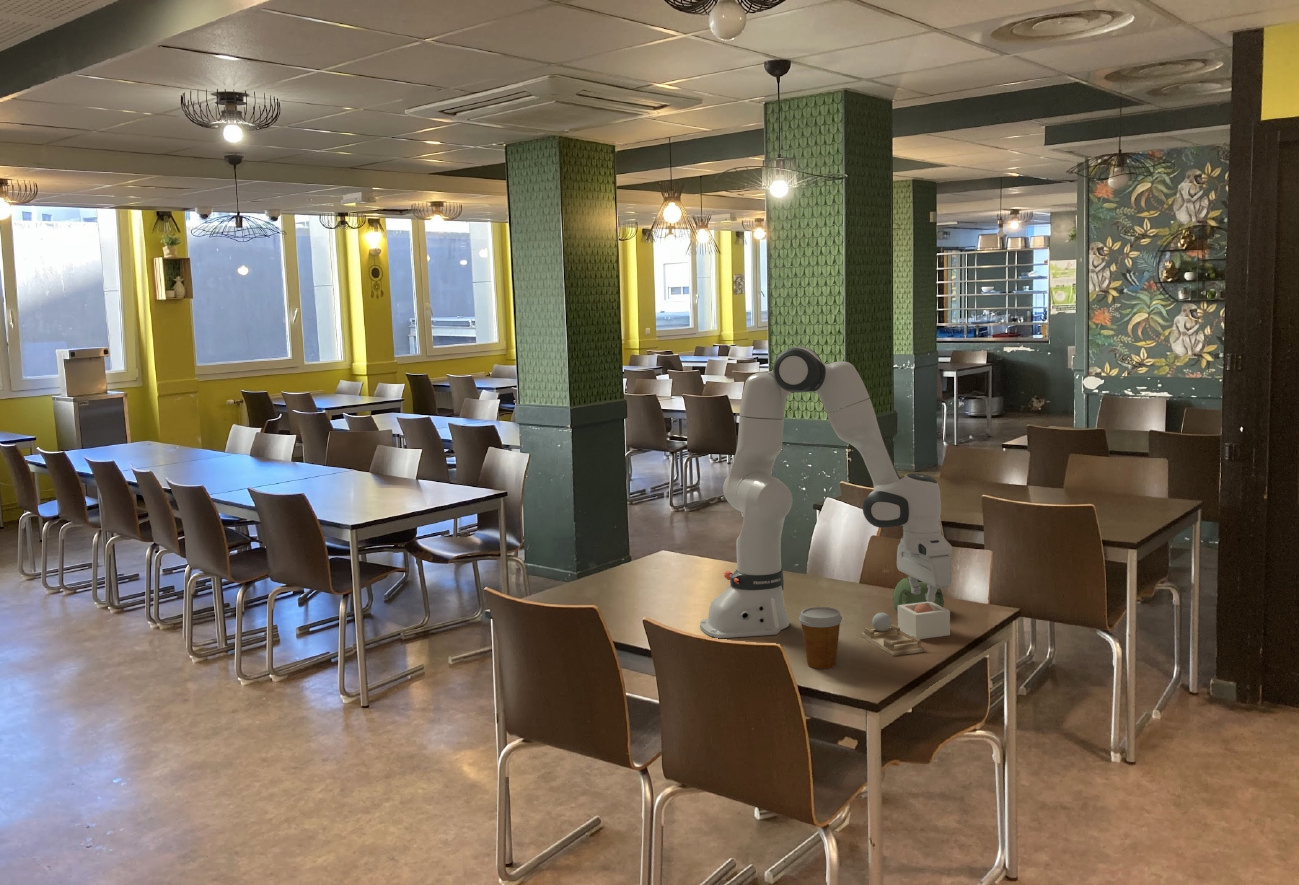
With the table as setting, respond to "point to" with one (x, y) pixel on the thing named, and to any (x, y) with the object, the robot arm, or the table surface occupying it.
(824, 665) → the disposable coffee cup
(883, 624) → the grey ball
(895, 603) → the green rounded piece
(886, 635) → the rack
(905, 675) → the table surface
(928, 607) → the red ball
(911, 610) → the white open box
